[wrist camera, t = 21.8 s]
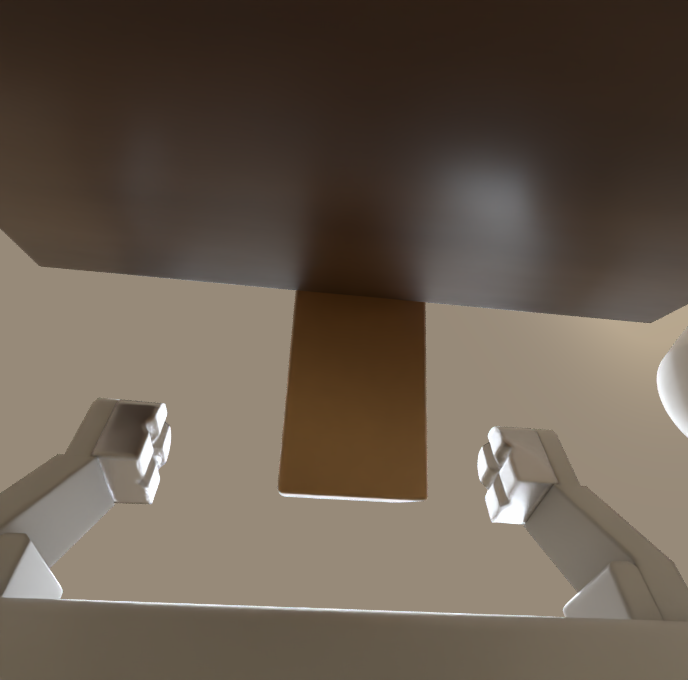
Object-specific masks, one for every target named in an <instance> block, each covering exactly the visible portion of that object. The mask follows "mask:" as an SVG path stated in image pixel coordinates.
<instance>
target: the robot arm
mask: <svg viewBox="0 0 688 680" xmlns="http://www.w3.org/2000/svg"><path fill="white" fill-rule="evenodd" d="M657 388H658V392H659V396H660V398H661V401H662V404H663V406H664V407H665V410H666V412H667V413H668V415H669V416H670V418H671V419H672V420H673V422H674V423H675V424H676V426H677V427H678V428H679V429H680V430H681V432H683V434H685V435H686V436H687V437H688V327H687V328H686V329H685V330H684V331H683V333H682V334H681V335H680V336H679V338H678V339H677V340H676V342H675V343H674V344H673V346H672V347H671V349H670V350H669V351H668V353H667V354H666V356H665V357H664V358H663V360H662V362H661V363H660V366H659V368H658V372H657ZM166 416H167V410H166V406H165V404H162V403H152V402H142V401H131V400H119V399H107V398H98V399H97V400H96V401H94V402H93V404H92V405H91V407H90V409H89V410H88V412H87V414H86V416H85V418H84V420H83V421H82V423H81V425H80V427H79V429H78V431H77V433H76V434H75V436H74V438H73V440H72V441H71V443H70V445H69V447H68V449H67V451H66V453H65V454H64V455H63V454H57V455H56V456H54V457H53V458H51V459H50V460H49V461H47V462H46V463H44V464H43V465H41V466H40V467H38V468H37V469H35V470H34V471H32V472H31V473H29V474H28V475H27V476H25V477H24V478H22V479H21V480H19V481H18V482H16V483H15V484H13V485H12V486H10V487H9V488H7V489H6V490H4V491H3V492H1V493H0V680H688V587H687V586H686V584H685V582H684V580H683V578H682V577H681V575H680V573H679V571H678V569H677V567H676V566H675V564H674V562H673V561H672V560H670V559H669V558H668V557H667V556H666V555H665V554H663V553H662V552H661V551H660V550H659V549H658V548H657V547H655V546H654V545H653V544H652V543H651V542H650V541H649V540H647V539H646V538H645V537H644V536H643V535H642V534H641V533H639V532H638V531H637V530H636V529H635V528H634V527H633V526H631V525H630V524H629V523H628V522H627V521H626V520H624V519H623V518H622V517H621V516H620V515H619V514H617V513H616V512H615V511H614V510H613V509H612V508H611V507H610V506H608V505H607V504H606V503H605V502H604V501H603V500H601V499H600V498H599V497H598V496H597V495H596V494H595V493H593V492H592V491H591V490H590V489H589V488H588V487H586V486H580V483H579V481H578V479H577V477H576V475H575V473H574V470H573V468H572V466H571V464H570V462H569V460H568V458H567V455H566V453H565V451H564V449H563V447H562V445H561V443H560V440H559V439H558V436H557V434H556V433H555V432H554V431H553V430H542V429H531V428H516V427H499V426H495V427H493V428H492V429H491V430H490V432H489V434H488V438H489V441H490V442H488V443H487V444H485V445H484V446H482V448H481V450H480V453H479V456H478V464H477V465H478V474H479V478H480V482H481V483H482V484H483V485H484V486H485V487H486V488H487V489H488V492H487V495H486V496H485V500H486V504H487V507H488V511H489V515H490V518H491V522H499V523H511V524H524V527H525V528H526V530H527V531H528V532H529V533H530V535H531V536H532V537H533V538H534V540H535V541H536V542H537V543H538V544H539V546H540V547H541V548H542V549H543V550H544V552H545V553H546V554H547V555H548V557H549V558H550V559H551V560H552V562H553V563H554V564H555V565H556V567H557V568H558V569H559V570H560V571H561V573H562V574H563V575H564V576H565V578H566V579H567V580H568V581H569V582H570V584H571V585H572V586H573V587H574V589H575V590H576V591H577V592H578V593H577V594H576V595H575V596H574V597H573V598H572V599H571V600H570V601H569V602H568V603H567V604H566V605H565V607H564V608H563V612H564V615H565V617H547V616H519V615H518V616H517V615H491V614H463V613H435V612H406V611H405V612H404V611H379V610H351V609H350V610H349V609H322V608H294V607H265V606H238V605H207V604H179V603H152V602H151V603H150V602H122V601H94V600H66V599H60V598H61V595H62V593H63V590H62V588H61V586H60V584H59V583H58V581H57V580H56V578H55V577H54V575H53V574H52V572H51V571H50V569H49V568H50V567H51V566H52V565H54V563H56V562H57V561H58V560H59V559H60V557H62V556H63V555H64V554H65V553H66V552H67V551H68V550H69V549H70V548H71V547H72V546H73V545H74V544H75V543H76V542H77V541H78V540H79V539H80V538H81V537H82V536H83V535H84V534H85V533H86V532H87V531H88V530H89V529H90V528H91V527H92V526H93V525H95V524H96V523H97V522H98V521H99V519H101V518H102V517H103V516H104V515H105V514H106V513H107V512H108V511H109V510H110V509H111V508H112V507H113V506H114V503H132V504H135V503H136V504H152V501H153V498H154V495H155V492H156V489H157V487H158V484H159V481H160V477H159V472H158V469H159V468H160V467H161V466H162V465H164V464H165V463H166V460H167V457H168V454H169V448H170V442H171V431H170V425H168V424H167V423H166V422H165V418H166Z"/></svg>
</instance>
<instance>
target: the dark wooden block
mask: <svg viewBox="0 0 688 680" xmlns="http://www.w3.org/2000/svg"><path fill="white" fill-rule="evenodd" d="M0 229H1V230H2V231H3V232H4V233H5V234H6V235H7V236H8V237H10V238H11V239H12V240H13V241H14V242H15V243H16V244H17V245H18V246H19V247H20V248H21V249H22V250H23V251H24V252H25V253H26V254H27V255H28V256H30V258H31V259H33V260H34V261H35V262H36V263H37V264H38V265H39V266H42V267H52V268H63V269H74V270H84V271H95V272H106V273H116V274H127V275H138V276H149V277H159V278H170V279H181V280H192V281H203V282H213V283H224V284H235V285H245V286H257V287H267V288H278V289H288V290H299V291H310V292H321V293H331V294H342V295H353V296H364V297H375V298H385V299H396V300H407V301H418V302H428V303H439V304H450V305H461V306H472V307H483V308H493V309H504V310H514V311H525V312H536V313H547V314H558V315H569V316H579V317H590V318H601V319H611V320H622V321H633V322H643V323H652V322H654V321H656V320H658V319H660V318H662V317H664V316H666V315H668V314H669V313H671V312H673V311H675V310H677V309H679V308H681V307H683V306H685V305H687V304H688V0H0Z"/></svg>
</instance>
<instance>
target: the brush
mask: <svg viewBox="0 0 688 680" xmlns="http://www.w3.org/2000/svg"><path fill="white" fill-rule="evenodd" d="M425 314H426V312H425V302H418V301H407V300H396V299H385V298H375V297H364V296H353V295H342V294H331V293H321V292H310V291H299V290H296V294H295V305H294V315H293V327H292V337H291V348H290V358H289V368H288V379H287V390H286V401H285V411H284V422H283V433H282V443H281V454H280V464H279V475H278V486H277V489H278V491H279V493H280V494H281V495H282V496H285V497H304V498H322V499H341V500H359V501H378V502H414V501H415V502H416V501H425V500H427V497H428V474H427V473H428V464H427V390H426V388H427V387H426V318H425V317H426V315H425Z"/></svg>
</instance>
